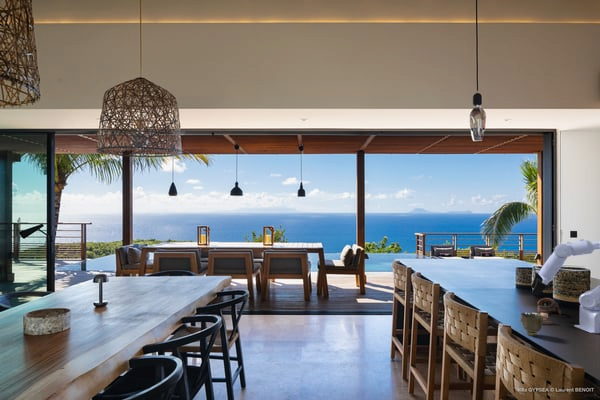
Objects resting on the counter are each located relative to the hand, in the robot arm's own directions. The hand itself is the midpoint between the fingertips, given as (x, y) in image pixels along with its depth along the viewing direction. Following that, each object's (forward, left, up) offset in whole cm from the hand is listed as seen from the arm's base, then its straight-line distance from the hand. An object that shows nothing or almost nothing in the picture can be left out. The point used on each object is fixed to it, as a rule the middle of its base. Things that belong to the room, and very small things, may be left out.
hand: (533, 291), depth 174 cm
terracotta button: (-6, 0, -10) cm, 12 cm away
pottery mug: (+10, -14, -13) cm, 22 cm away
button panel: (-6, +3, -13) cm, 14 cm away
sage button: (-6, +3, -10) cm, 12 cm away
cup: (-23, +16, -13) cm, 31 cm away
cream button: (-6, +7, -10) cm, 14 cm away
